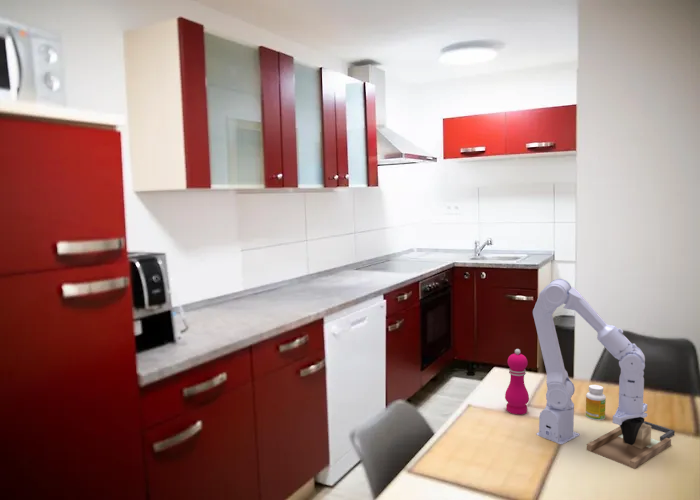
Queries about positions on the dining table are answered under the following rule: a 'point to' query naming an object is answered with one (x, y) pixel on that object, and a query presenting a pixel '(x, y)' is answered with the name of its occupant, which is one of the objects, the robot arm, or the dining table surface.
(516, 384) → the pepper mill
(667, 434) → the tray
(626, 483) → the dining table surface
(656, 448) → the walled channel
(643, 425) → the maple block
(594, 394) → the supplement bottle
